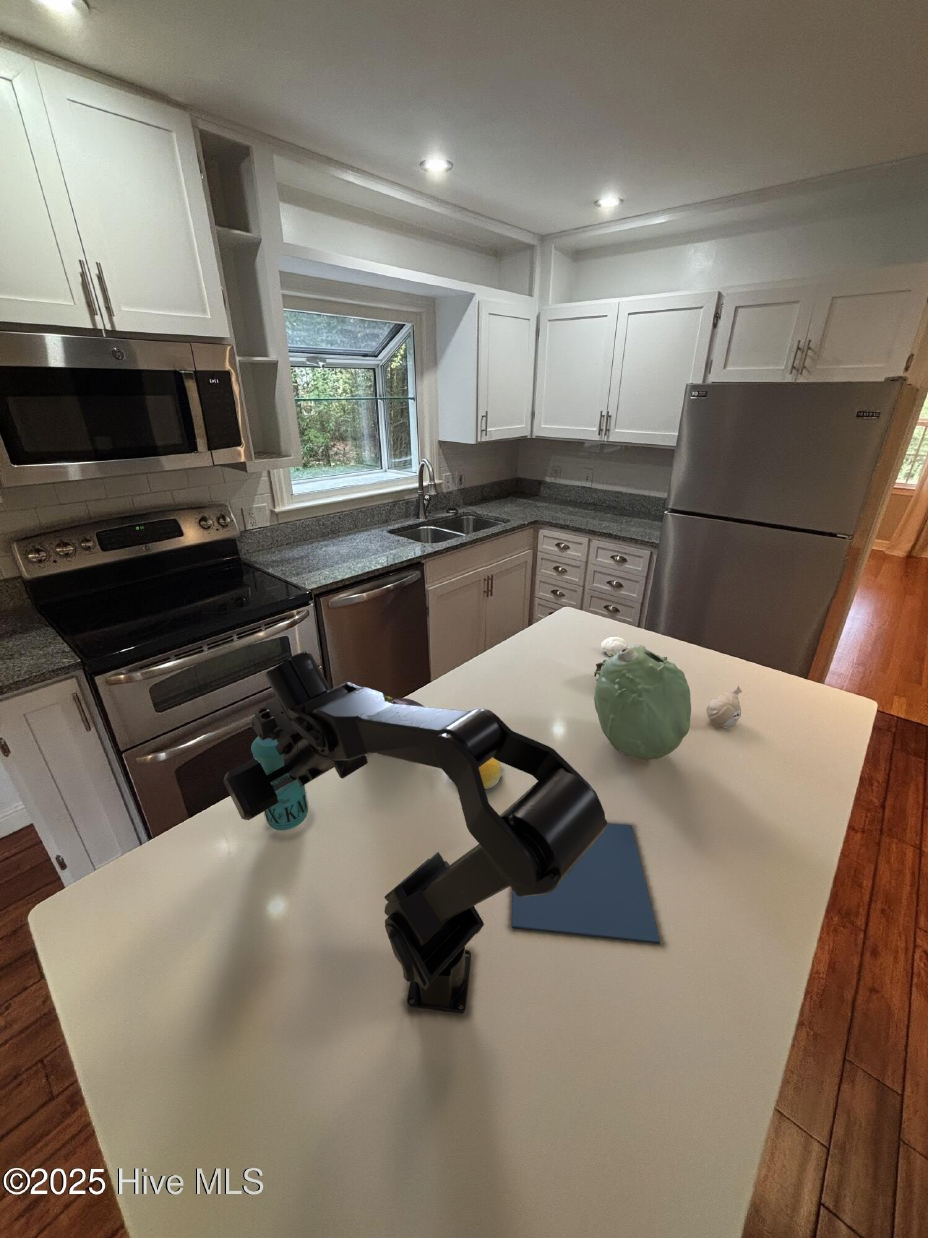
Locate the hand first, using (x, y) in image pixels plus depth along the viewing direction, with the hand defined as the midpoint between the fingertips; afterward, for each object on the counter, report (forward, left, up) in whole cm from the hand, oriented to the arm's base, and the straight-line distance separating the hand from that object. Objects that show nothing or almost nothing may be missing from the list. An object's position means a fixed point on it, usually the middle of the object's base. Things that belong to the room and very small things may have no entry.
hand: (288, 773), depth 71 cm
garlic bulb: (+36, -74, -12) cm, 83 cm away
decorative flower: (+22, -10, -12) cm, 27 cm away
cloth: (-2, -42, -12) cm, 43 cm away
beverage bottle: (+2, +2, -12) cm, 12 cm away
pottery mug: (+47, -56, -12) cm, 74 cm away
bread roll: (+16, -26, -12) cm, 32 cm away
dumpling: (+64, -57, -12) cm, 86 cm away
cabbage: (+26, -55, -12) cm, 62 cm away
